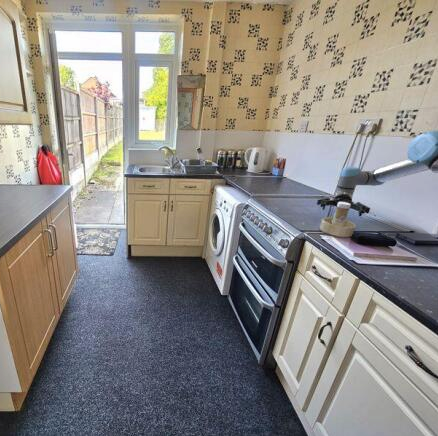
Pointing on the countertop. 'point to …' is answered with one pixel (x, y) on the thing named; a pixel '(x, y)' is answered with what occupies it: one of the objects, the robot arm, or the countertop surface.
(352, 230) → the beige round bowl
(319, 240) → the countertop surface
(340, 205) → the sprinkles bottle
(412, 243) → the countertop surface
